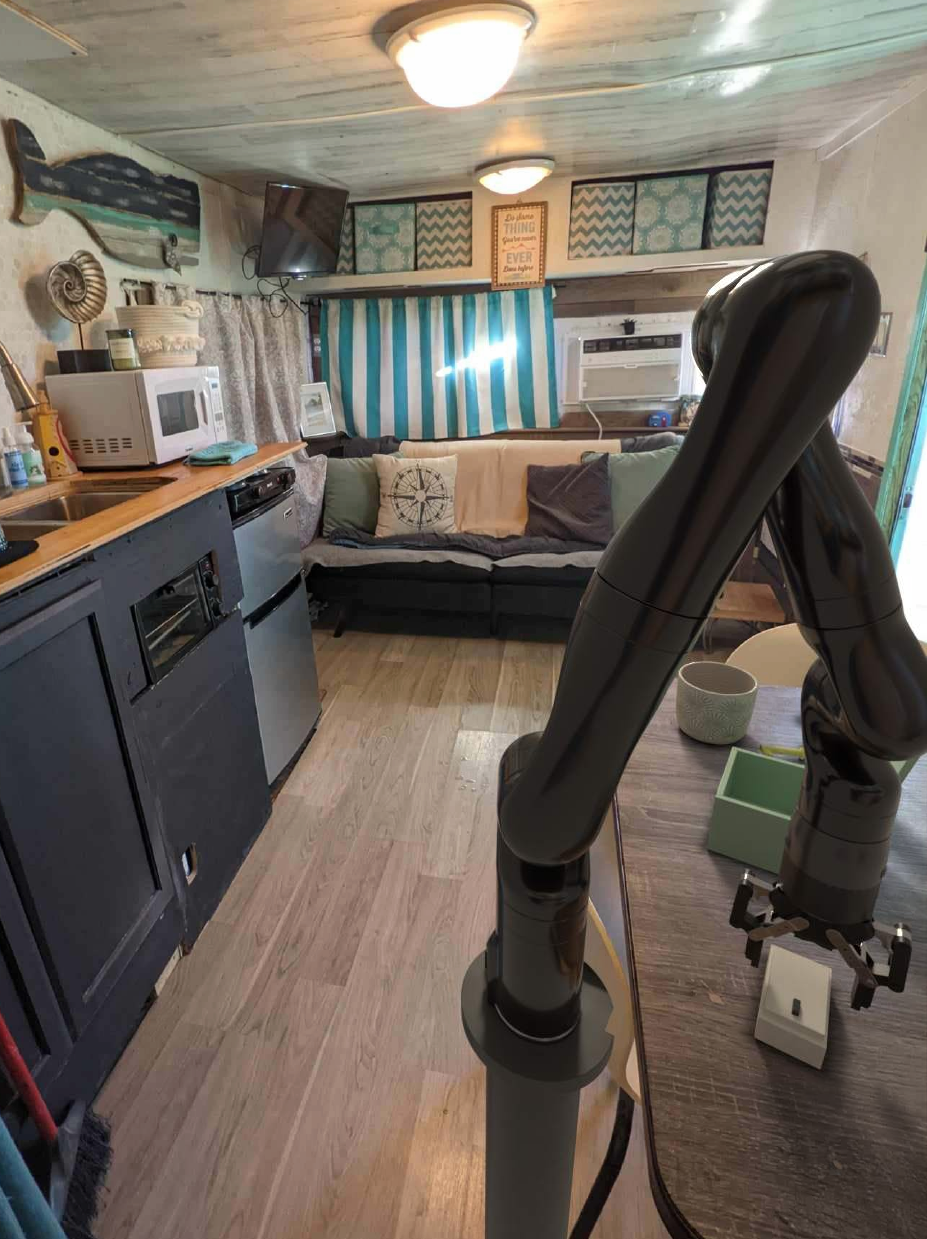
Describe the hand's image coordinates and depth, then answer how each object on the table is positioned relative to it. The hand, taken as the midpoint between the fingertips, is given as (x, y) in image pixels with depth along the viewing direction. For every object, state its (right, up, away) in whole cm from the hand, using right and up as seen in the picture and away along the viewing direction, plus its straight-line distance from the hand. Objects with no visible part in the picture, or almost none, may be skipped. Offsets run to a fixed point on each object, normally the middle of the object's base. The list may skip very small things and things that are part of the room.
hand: (803, 981), depth 65 cm
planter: (+16, +15, +49) cm, 54 cm away
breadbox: (+12, +5, +24) cm, 28 cm away
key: (+27, +12, +41) cm, 50 cm away
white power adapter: (0, -4, +2) cm, 5 cm away
